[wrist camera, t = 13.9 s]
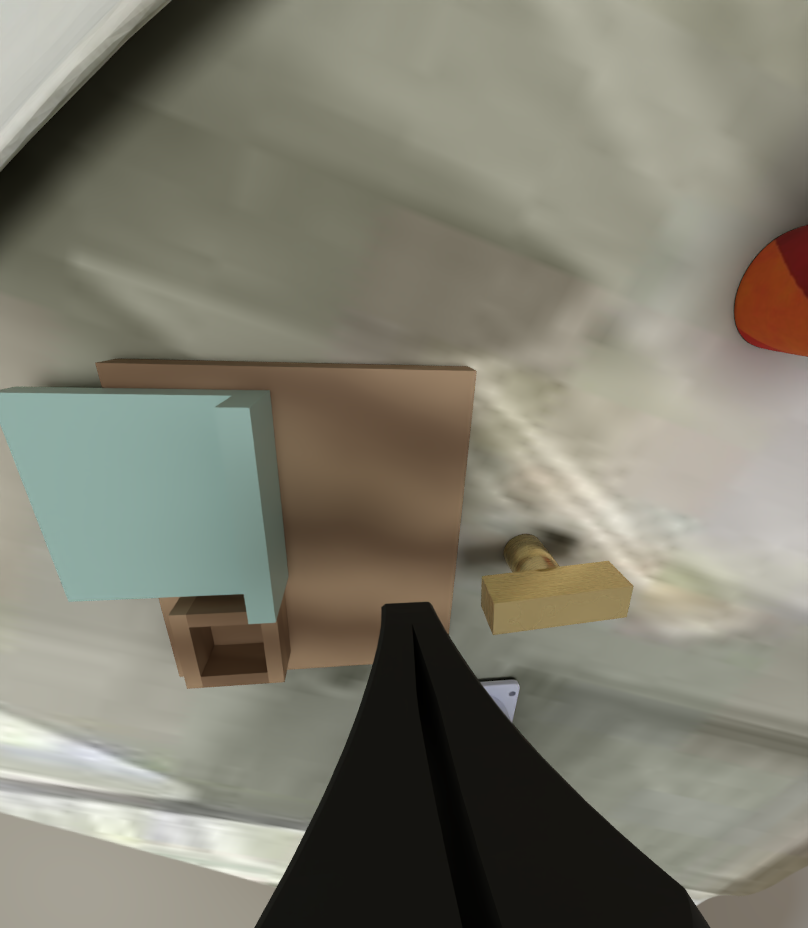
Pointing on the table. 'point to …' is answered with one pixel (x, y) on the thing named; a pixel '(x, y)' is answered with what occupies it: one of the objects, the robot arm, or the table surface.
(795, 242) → the paper cup
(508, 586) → the tan block with knob
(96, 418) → the cover
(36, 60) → the square plate
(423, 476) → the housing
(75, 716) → the table surface
